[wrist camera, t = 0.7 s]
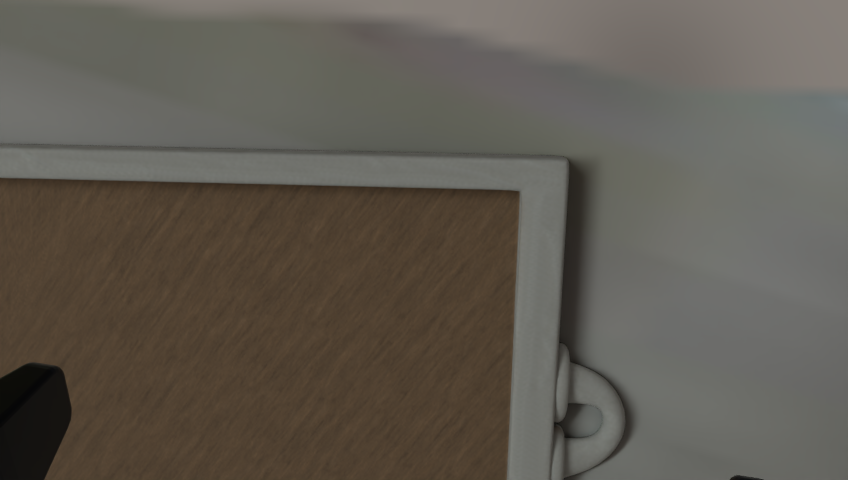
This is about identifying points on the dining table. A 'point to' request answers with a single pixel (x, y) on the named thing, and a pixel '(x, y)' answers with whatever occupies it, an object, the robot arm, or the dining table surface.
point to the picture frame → (297, 312)
